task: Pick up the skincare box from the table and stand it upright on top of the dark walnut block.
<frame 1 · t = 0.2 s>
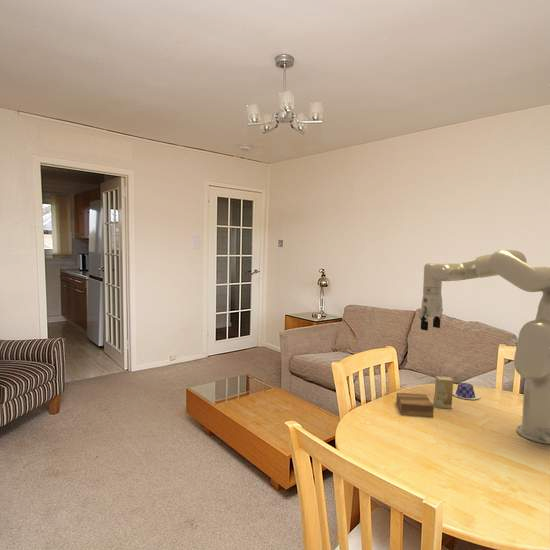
hand: (430, 328, 169), 30 cm above the table, tool pointing down, fingers open, 9 cm apart
checkered brimmed hat: (465, 396, 171), on the table
walnut block: (413, 410, 154), on the table
skincare box: (442, 406, 158), on the table
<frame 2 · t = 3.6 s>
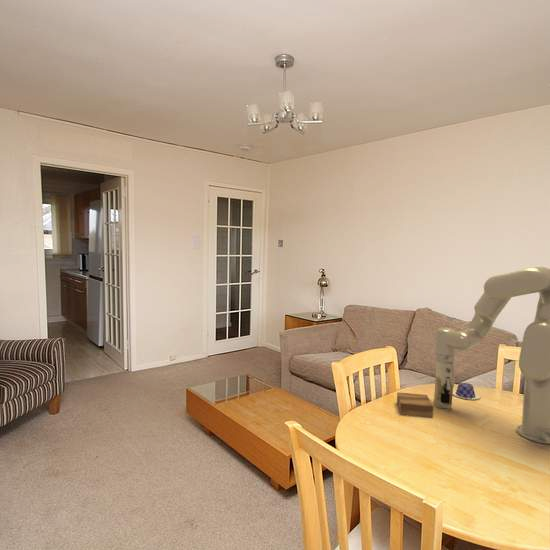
hand: (443, 399, 158), 3 cm above the table, tool pointing down, fingers closed on skincare box, 4 cm apart
skincare box: (442, 406, 158), on the table, touching gripper
everything else where it was.
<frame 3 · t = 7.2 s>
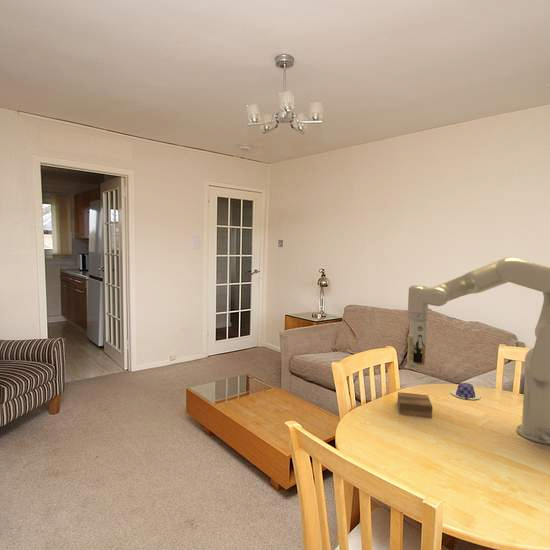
hand: (416, 360, 152), 21 cm above the table, tool pointing down, fingers closed on skincare box, 4 cm apart
skincare box: (415, 367, 153), point 18 cm above the table, touching gripper
everything else where it was.
when the fingers open (9 cm above the table, at t = 10.9 s): skincare box drops 1 cm, resting on walnut block.
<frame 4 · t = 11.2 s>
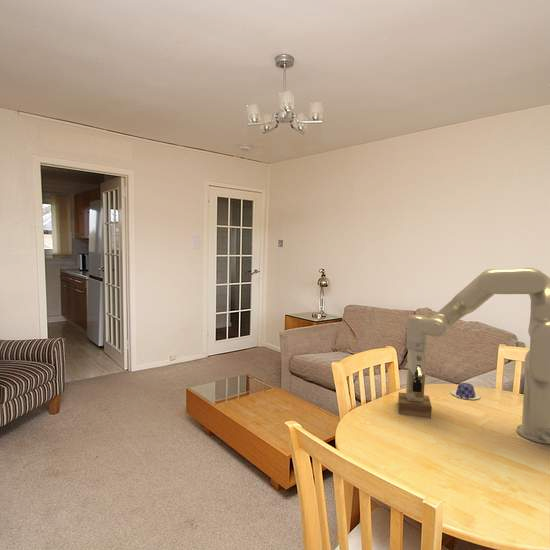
hand: (414, 388, 153), 9 cm above the table, tool pointing down, fingers open, 7 cm apart
walnut block: (413, 411, 154), on the table, touching skincare box
skincare box: (414, 399, 153), point 4 cm above the table, touching walnut block
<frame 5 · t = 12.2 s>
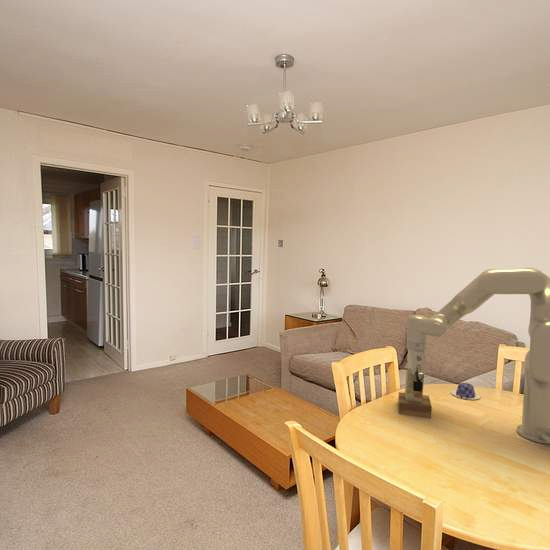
hand: (414, 386, 153), 10 cm above the table, tool pointing down, fingers open, 9 cm apart
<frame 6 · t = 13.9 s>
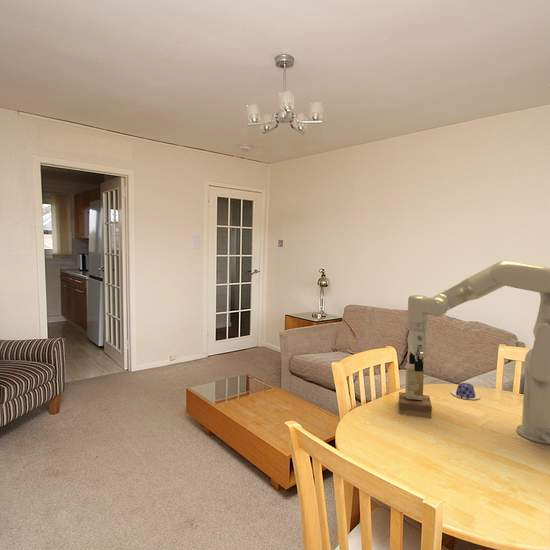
hand: (415, 367, 153), 18 cm above the table, tool pointing down, fingers open, 9 cm apart
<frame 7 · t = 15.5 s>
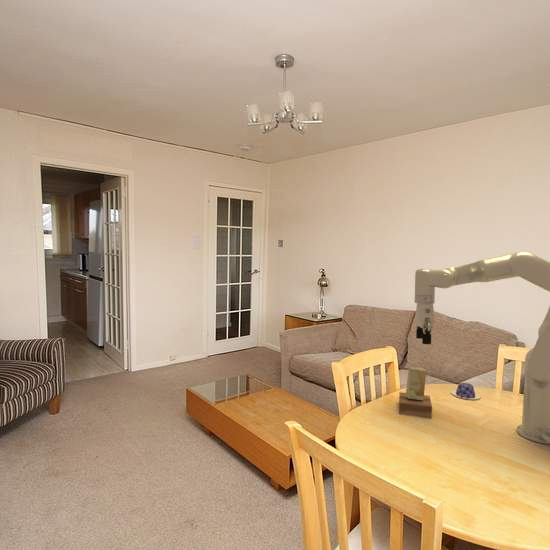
hand: (423, 341, 153), 29 cm above the table, tool pointing down, fingers open, 9 cm apart
walnut block: (414, 411, 154), on the table
skincare box: (414, 398, 154), point 5 cm above the table
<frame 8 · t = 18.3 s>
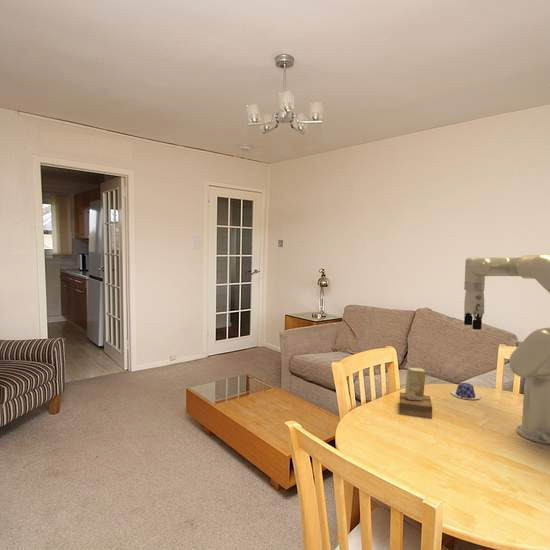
hand: (472, 327, 159), 33 cm above the table, tool pointing down, fingers open, 9 cm apart
walnut block: (414, 411, 154), on the table, touching skincare box
skincare box: (414, 399, 154), point 5 cm above the table, touching walnut block
at the end: skincare box inside the target area on the walnut block (0.5 cm from its centre), point 4.9 cm above the walnut block's base; skincare box tilted 1°; the gripper is holding nothing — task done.
